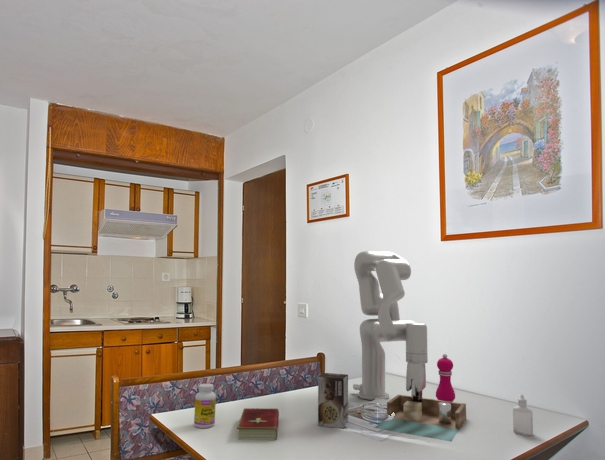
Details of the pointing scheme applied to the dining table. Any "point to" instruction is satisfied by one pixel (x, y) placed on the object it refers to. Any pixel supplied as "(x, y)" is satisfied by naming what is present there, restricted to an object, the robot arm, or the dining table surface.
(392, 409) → the cubby
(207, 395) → the supplement bottle
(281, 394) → the dining table surface
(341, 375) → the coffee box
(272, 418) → the hardcover book
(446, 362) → the pepper mill
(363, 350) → the robot arm
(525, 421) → the eye dropper bottle
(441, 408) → the steel peg
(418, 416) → the birch block
